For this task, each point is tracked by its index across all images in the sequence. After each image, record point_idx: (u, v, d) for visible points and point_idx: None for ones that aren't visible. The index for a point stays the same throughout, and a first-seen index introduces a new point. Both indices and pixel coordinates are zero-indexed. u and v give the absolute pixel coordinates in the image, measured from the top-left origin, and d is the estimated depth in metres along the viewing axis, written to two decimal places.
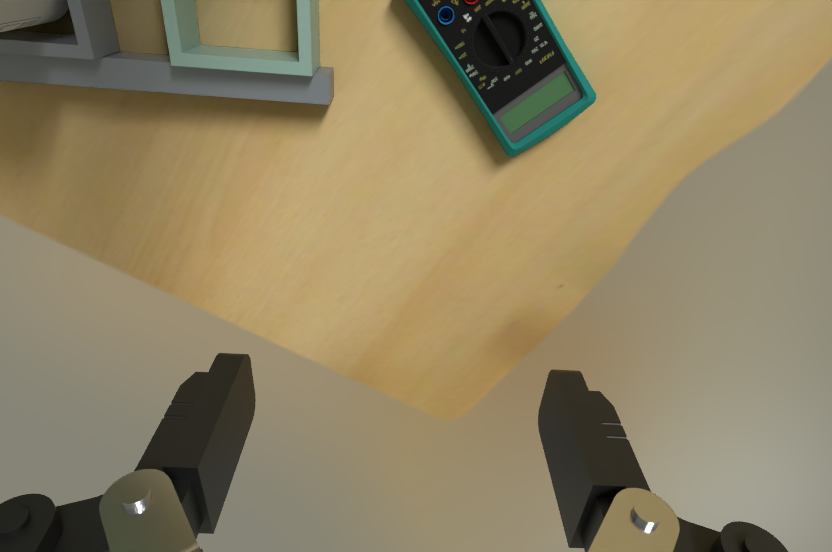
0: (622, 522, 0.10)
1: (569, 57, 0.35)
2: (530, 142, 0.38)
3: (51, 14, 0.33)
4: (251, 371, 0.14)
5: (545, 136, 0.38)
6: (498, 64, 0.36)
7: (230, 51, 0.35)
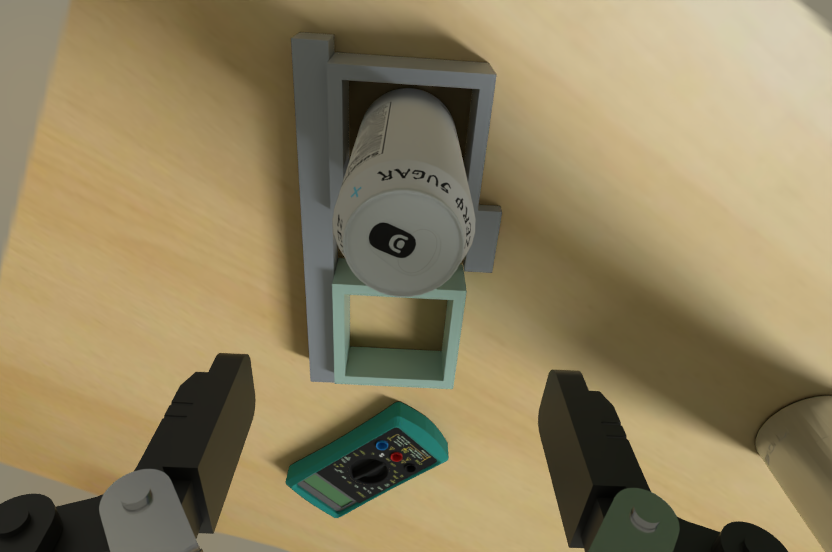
0: (622, 522, 0.10)
1: (362, 504, 0.50)
2: (299, 494, 0.49)
3: None
4: (251, 371, 0.14)
5: (305, 499, 0.50)
6: (352, 467, 0.48)
7: (347, 308, 0.39)
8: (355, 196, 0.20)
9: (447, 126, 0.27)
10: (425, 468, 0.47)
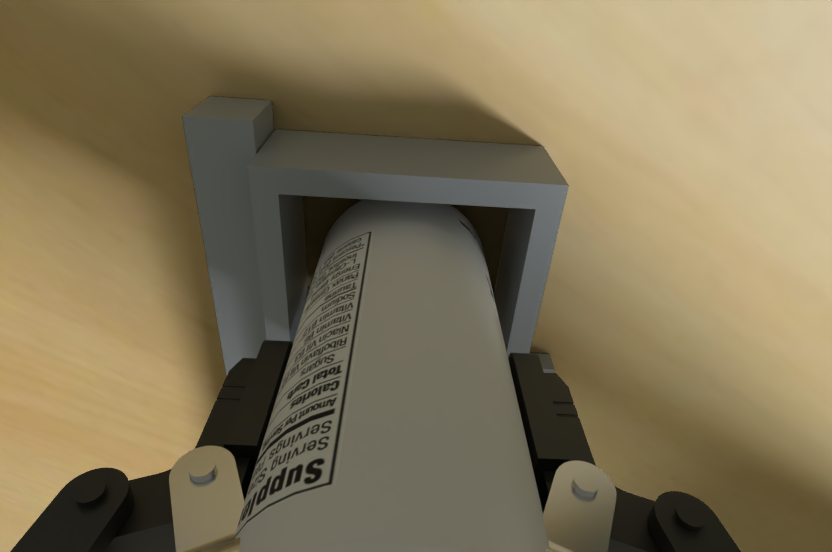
0: (565, 496, 0.10)
1: None
2: None
3: None
4: None
5: None
6: None
7: None
8: None
9: (477, 290, 0.14)
10: None
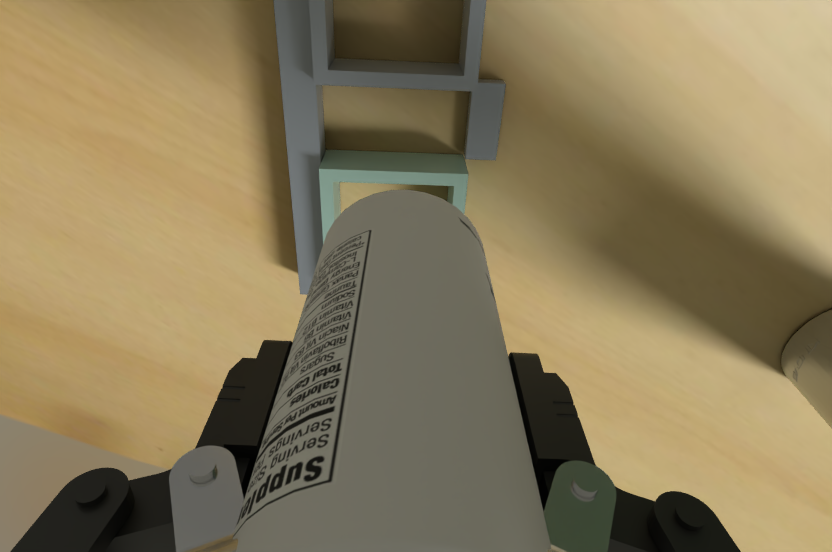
0: (565, 496, 0.10)
1: None
2: None
3: None
4: None
5: None
6: None
7: (337, 206, 0.35)
8: None
9: (477, 289, 0.14)
10: None
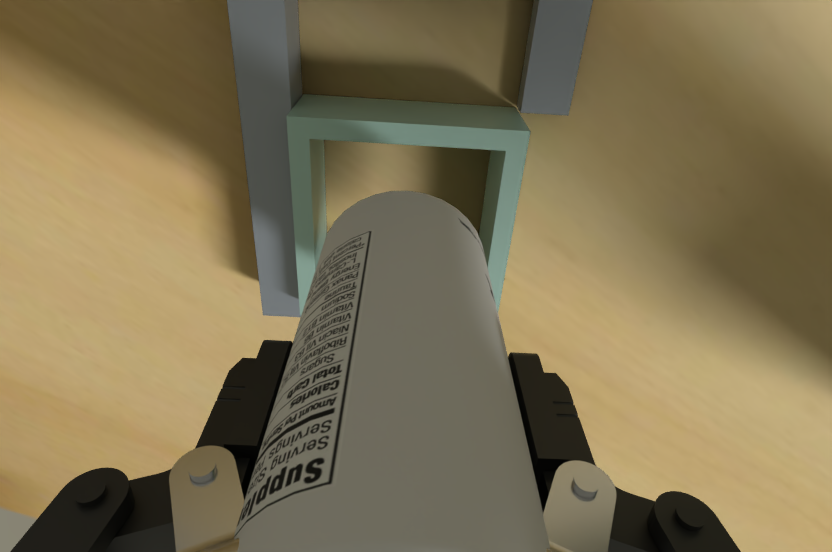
0: (565, 496, 0.10)
1: None
2: None
3: None
4: None
5: None
6: None
7: (319, 183, 0.23)
8: None
9: (477, 290, 0.14)
10: None
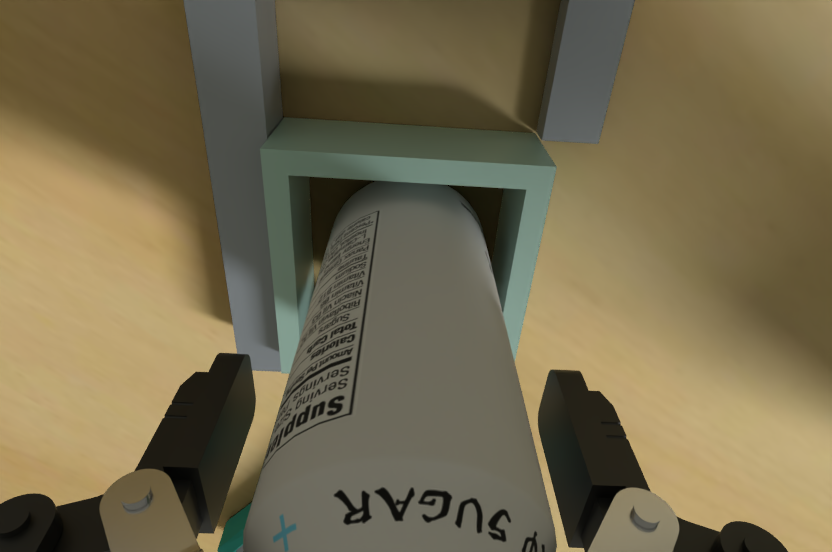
0: (622, 522, 0.10)
1: None
2: None
3: None
4: (251, 371, 0.14)
5: None
6: None
7: (303, 221, 0.19)
8: (282, 543, 0.09)
9: (478, 263, 0.15)
10: None
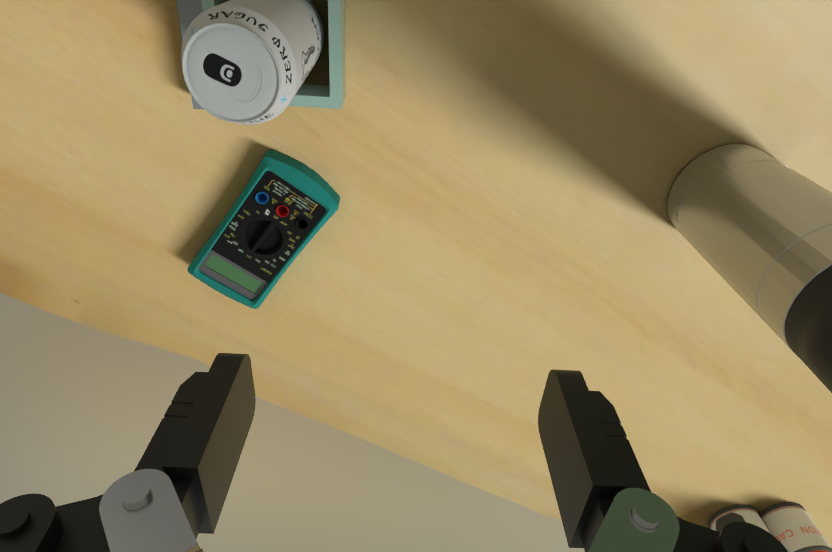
0: (622, 522, 0.10)
1: (272, 284, 0.49)
2: (204, 281, 0.48)
3: None
4: (251, 371, 0.14)
5: (214, 288, 0.49)
6: (248, 239, 0.47)
7: None
8: (191, 34, 0.26)
9: (298, 7, 0.33)
10: (317, 221, 0.45)
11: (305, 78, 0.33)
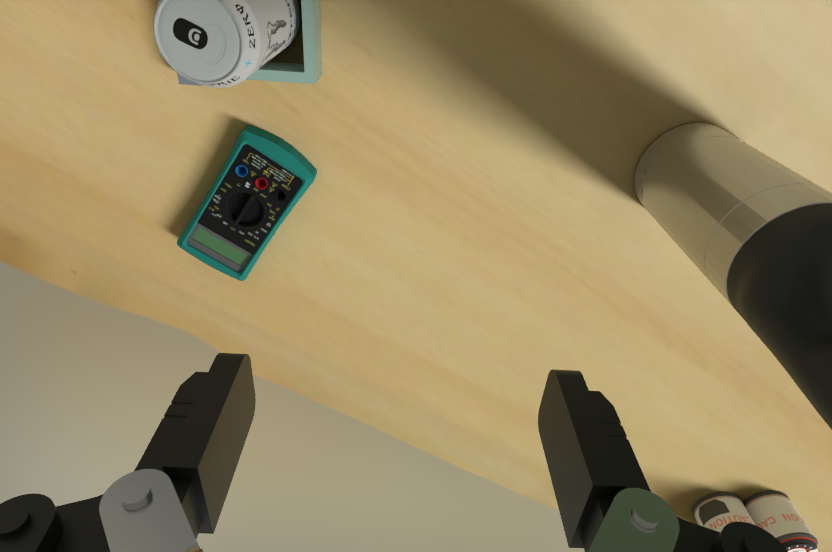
0: (622, 522, 0.10)
1: (256, 255, 0.51)
2: (193, 254, 0.51)
3: None
4: (251, 371, 0.14)
5: (202, 261, 0.52)
6: (231, 213, 0.49)
7: None
8: (162, 0, 0.29)
9: None
10: None
11: (276, 50, 0.36)
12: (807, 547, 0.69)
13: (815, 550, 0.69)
